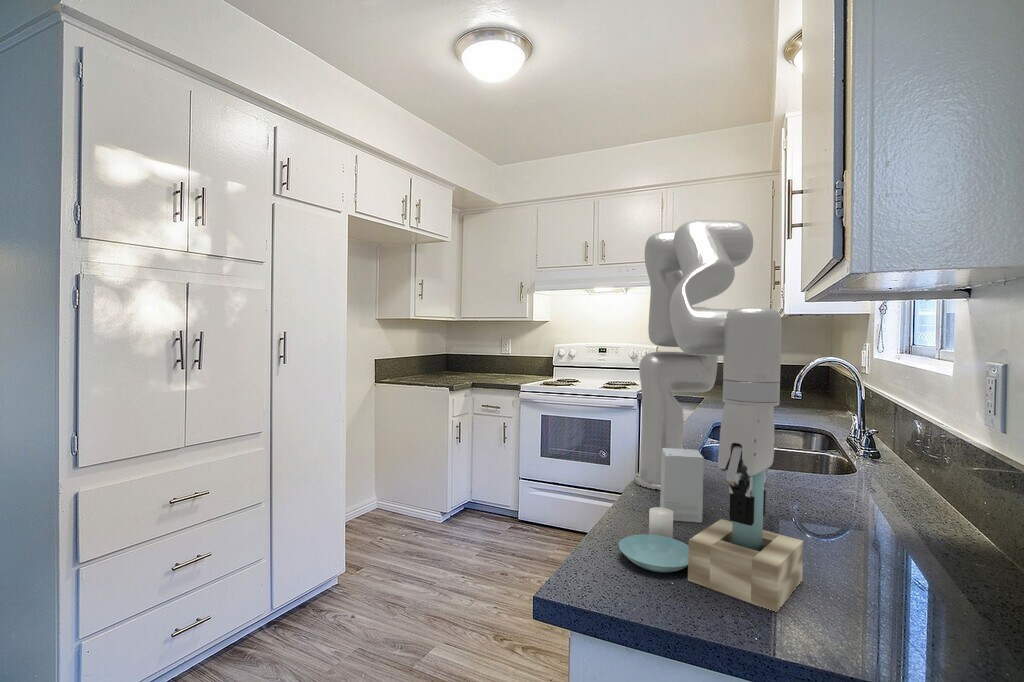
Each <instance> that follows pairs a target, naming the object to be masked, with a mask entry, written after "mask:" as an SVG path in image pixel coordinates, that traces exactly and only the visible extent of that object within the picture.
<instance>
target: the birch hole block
mask: <svg viewBox="0 0 1024 682" xmlns="http://www.w3.org/2000/svg"><path fill="white" fill-rule="evenodd" d="M732 524H733V521H731V520H726V519H723V518H719V520H717V521H716V522H714V523H713V524H711V525H709V526H707V527H706V528H705V529H703V530H702V531H700V532H699V533H697V534H695V535H693V536H692V537H691V538H689V539H688V545H689V551H688V566H687V581H688V582H691V583H693V584H697V585H699V586H702V587H705V588H708V589H710V590H713V591H715V592H718V593H721V594H724V595H727V596H730V597H732V598H735V599H737V600H741V601H743V602H746V603H749V604H751V605H754V606H757V607H759V608H762V607H763V609H765V608H766V610H768V609H769V610H768V611H771V610H772V611H771V612H773V611H775V612H774V613H776V612H779V610H780V609H781V608H782V606H784V604H785V603H786V602H787V601H788V600H789V598H790V597H791V596H790V595H793V593H794V592H795V591H796V590H797V588H798V587H799V586H800V585H801V583H802V582H803V570H804V569H803V565H804V540H803V539H799V538H794V537H791V536H789V535H788V536H787V535H783V534H780V533H776V532H773V531H769V530H764V529H763V535H762V551H760V552H759V551H756V550H752V549H749V548H745V547H742V546H739V545H735V544H732ZM801 581H802V582H801ZM800 582H801V583H800ZM799 584H800V585H799ZM798 585H799V586H798ZM797 586H798V587H797ZM796 587H797V588H796ZM794 590H795V591H794ZM793 591H794V592H793ZM792 592H793V593H792ZM785 601H786V602H785ZM780 607H781V608H780Z"/></svg>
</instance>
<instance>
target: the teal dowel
mask: <svg viewBox="0 0 1024 682" xmlns="http://www.w3.org/2000/svg"><path fill="white" fill-rule="evenodd" d="M746 471H747V470H746V469H741V470H740V472H741V473H746ZM746 474H747V473H746ZM740 478H741V480H744V482H745V484H746V480H747V478H742V477H740ZM764 490H765V489H764V470H763V471H762V472H760V473H758V474H756V475H754V477H753V488H752V497H755V499H754V524H753V525H751V526H749V525H746V524H742V523H738V522H734V521H732V522H733V524H732V544H735V545H739V546H742V547H745V548H749V549H752V550H756V551H759V552H760V551H762V535H763V530H764V529H763V528H764V526H763V525H764V517H763V497H764Z"/></svg>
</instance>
